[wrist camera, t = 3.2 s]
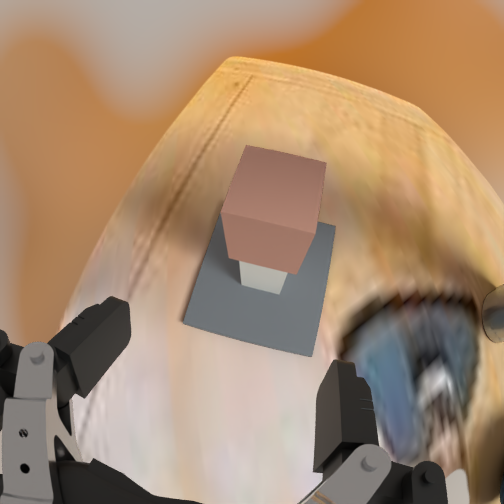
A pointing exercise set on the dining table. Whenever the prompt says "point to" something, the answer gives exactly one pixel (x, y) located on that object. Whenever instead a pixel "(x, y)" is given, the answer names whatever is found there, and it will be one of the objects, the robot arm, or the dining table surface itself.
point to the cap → (272, 208)
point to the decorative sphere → (502, 491)
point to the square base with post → (262, 296)
